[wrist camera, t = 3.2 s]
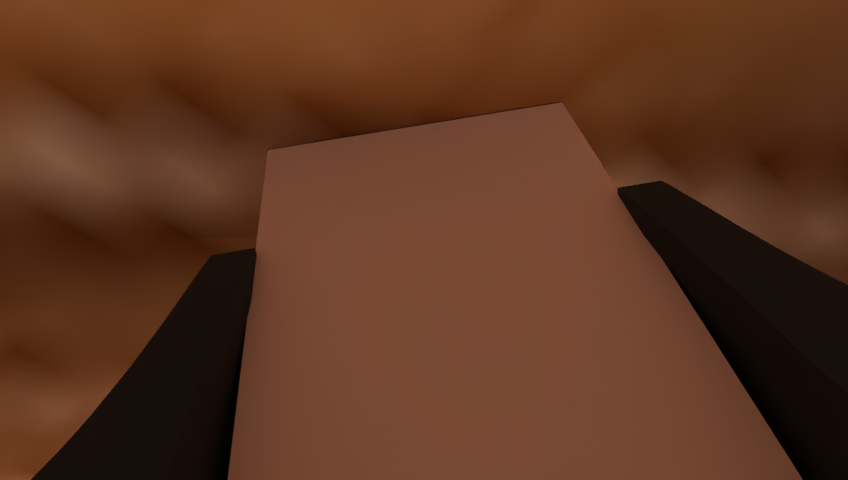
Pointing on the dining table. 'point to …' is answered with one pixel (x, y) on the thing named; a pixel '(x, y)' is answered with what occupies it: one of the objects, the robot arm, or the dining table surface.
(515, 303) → the brown rectangular block
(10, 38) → the dining table surface
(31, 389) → the dining table surface
